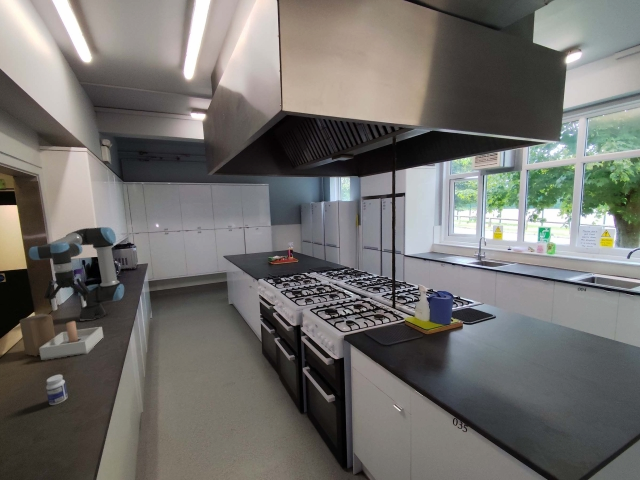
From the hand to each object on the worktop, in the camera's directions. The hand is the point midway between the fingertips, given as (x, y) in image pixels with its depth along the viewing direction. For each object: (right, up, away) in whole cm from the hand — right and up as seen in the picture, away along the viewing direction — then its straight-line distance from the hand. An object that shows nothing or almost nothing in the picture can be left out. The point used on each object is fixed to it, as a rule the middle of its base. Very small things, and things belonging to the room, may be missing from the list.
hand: (70, 308), depth 160 cm
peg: (+1, -22, +1) cm, 22 cm away
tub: (+2, -23, +1) cm, 23 cm away
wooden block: (-15, -24, 0) cm, 29 cm away
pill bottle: (+33, -27, -44) cm, 61 cm away
